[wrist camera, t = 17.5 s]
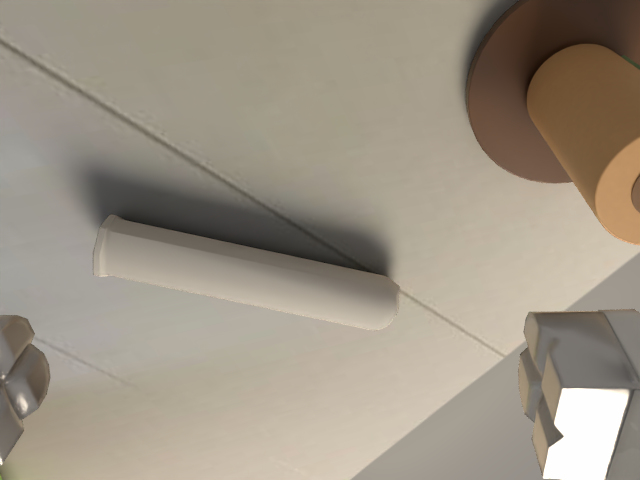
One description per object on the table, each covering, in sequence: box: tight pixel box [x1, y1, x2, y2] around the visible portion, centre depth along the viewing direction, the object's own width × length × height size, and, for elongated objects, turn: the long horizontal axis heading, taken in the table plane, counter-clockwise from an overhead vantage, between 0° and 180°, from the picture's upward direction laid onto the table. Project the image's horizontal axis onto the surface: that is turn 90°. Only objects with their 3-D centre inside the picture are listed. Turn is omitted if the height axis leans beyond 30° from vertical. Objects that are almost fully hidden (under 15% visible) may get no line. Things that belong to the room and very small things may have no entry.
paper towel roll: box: [527, 44, 640, 245], centre depth 32 cm, size 6×7×14 cm
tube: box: [93, 214, 400, 331], centre depth 47 cm, size 5×5×25 cm
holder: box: [466, 0, 640, 183], centre depth 38 cm, size 14×14×2 cm
